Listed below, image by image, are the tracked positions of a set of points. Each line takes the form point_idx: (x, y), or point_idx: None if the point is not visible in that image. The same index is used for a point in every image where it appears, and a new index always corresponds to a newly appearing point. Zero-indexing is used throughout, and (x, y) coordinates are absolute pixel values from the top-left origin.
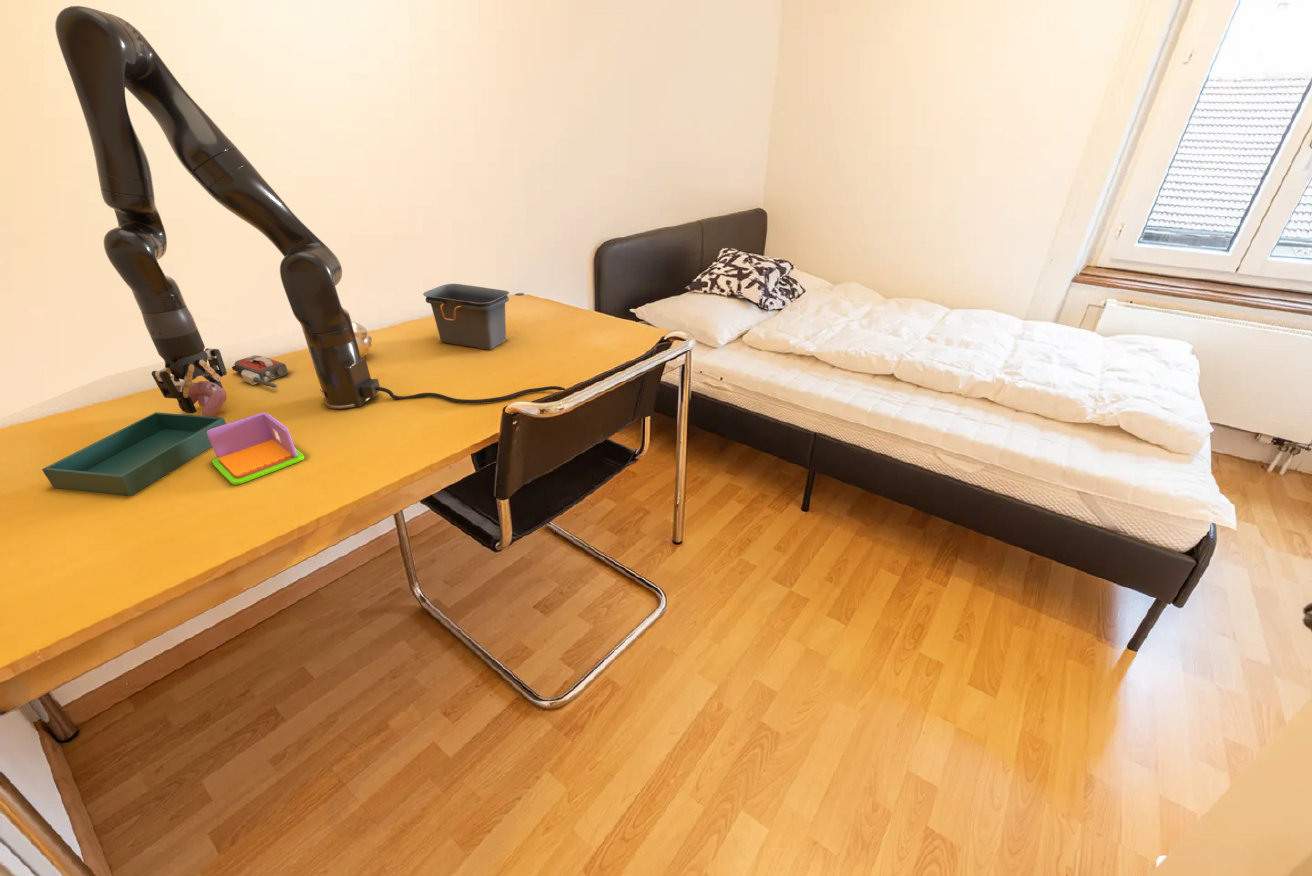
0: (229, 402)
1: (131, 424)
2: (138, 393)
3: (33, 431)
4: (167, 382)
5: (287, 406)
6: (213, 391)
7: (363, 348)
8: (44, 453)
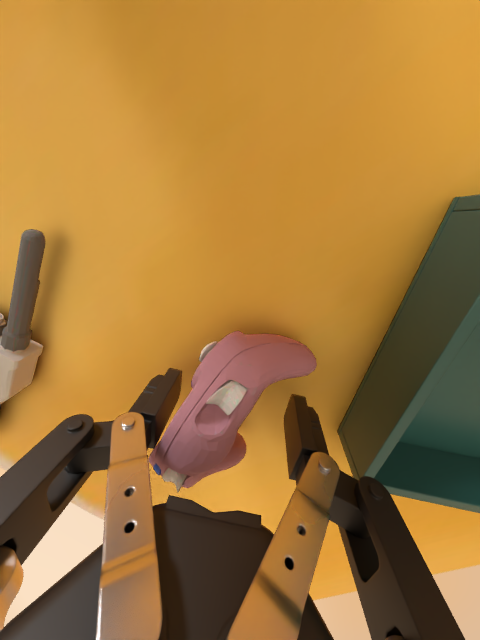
0: (167, 353)
1: (448, 505)
2: None
3: None
4: (458, 636)
5: (176, 76)
6: (250, 386)
7: None
8: None
